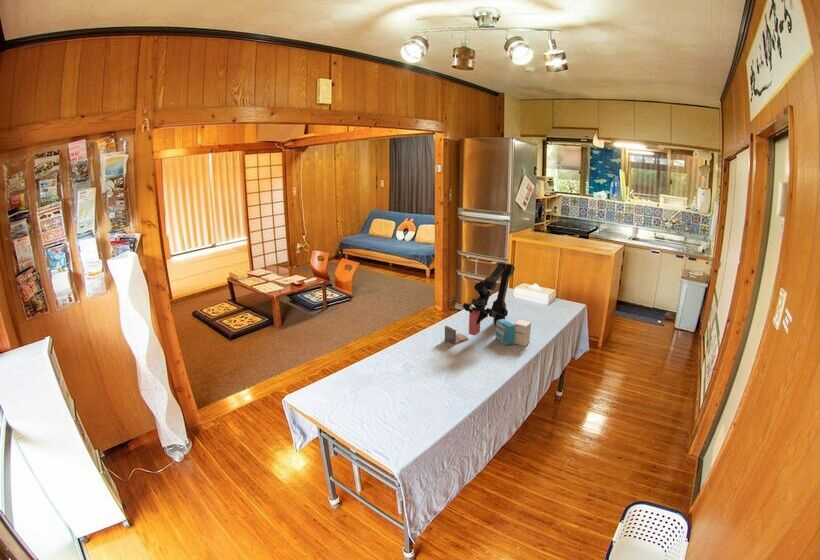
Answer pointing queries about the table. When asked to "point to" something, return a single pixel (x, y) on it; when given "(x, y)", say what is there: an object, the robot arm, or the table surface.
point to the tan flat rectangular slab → (460, 338)
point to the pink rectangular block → (474, 323)
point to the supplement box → (522, 332)
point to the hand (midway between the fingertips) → (473, 323)
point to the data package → (505, 331)
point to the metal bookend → (450, 335)
